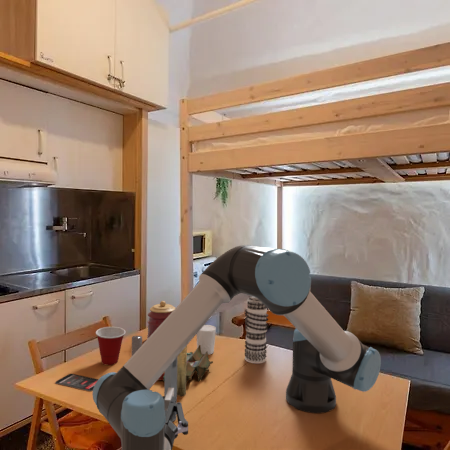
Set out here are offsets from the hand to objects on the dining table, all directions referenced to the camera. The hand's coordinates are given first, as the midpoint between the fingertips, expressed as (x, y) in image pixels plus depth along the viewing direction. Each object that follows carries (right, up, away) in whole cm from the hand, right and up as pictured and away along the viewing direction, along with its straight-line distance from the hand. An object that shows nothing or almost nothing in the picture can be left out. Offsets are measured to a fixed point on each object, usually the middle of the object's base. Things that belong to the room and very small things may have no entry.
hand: (171, 392), depth 100 cm
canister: (-13, -6, +65) cm, 67 cm away
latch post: (+1, -8, +17) cm, 19 cm away
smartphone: (-33, -8, +23) cm, 42 cm away
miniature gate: (-5, -8, +35) cm, 36 cm away
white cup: (+6, -7, +53) cm, 54 cm away
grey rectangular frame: (-5, -9, +6) cm, 11 cm away
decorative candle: (+26, -8, +46) cm, 54 cm away
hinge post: (-12, -8, +11) cm, 18 cm away
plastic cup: (-29, -7, +40) cm, 50 cm away
